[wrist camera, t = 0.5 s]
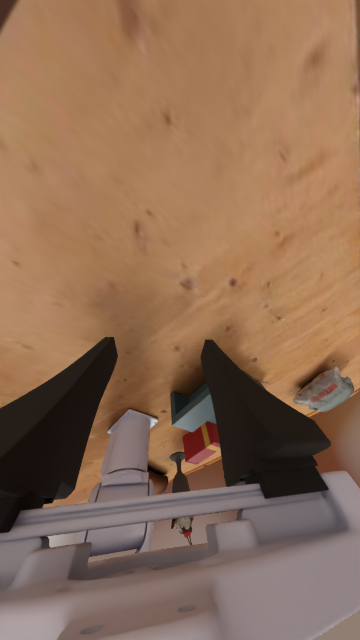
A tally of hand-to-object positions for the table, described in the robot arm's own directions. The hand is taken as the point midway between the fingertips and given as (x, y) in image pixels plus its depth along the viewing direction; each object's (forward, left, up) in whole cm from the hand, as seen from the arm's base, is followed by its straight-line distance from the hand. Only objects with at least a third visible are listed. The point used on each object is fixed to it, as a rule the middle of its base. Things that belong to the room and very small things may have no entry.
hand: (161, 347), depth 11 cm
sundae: (-36, -34, -11) cm, 50 cm away
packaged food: (+7, -42, -11) cm, 43 cm away
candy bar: (-22, -30, -11) cm, 38 cm away
